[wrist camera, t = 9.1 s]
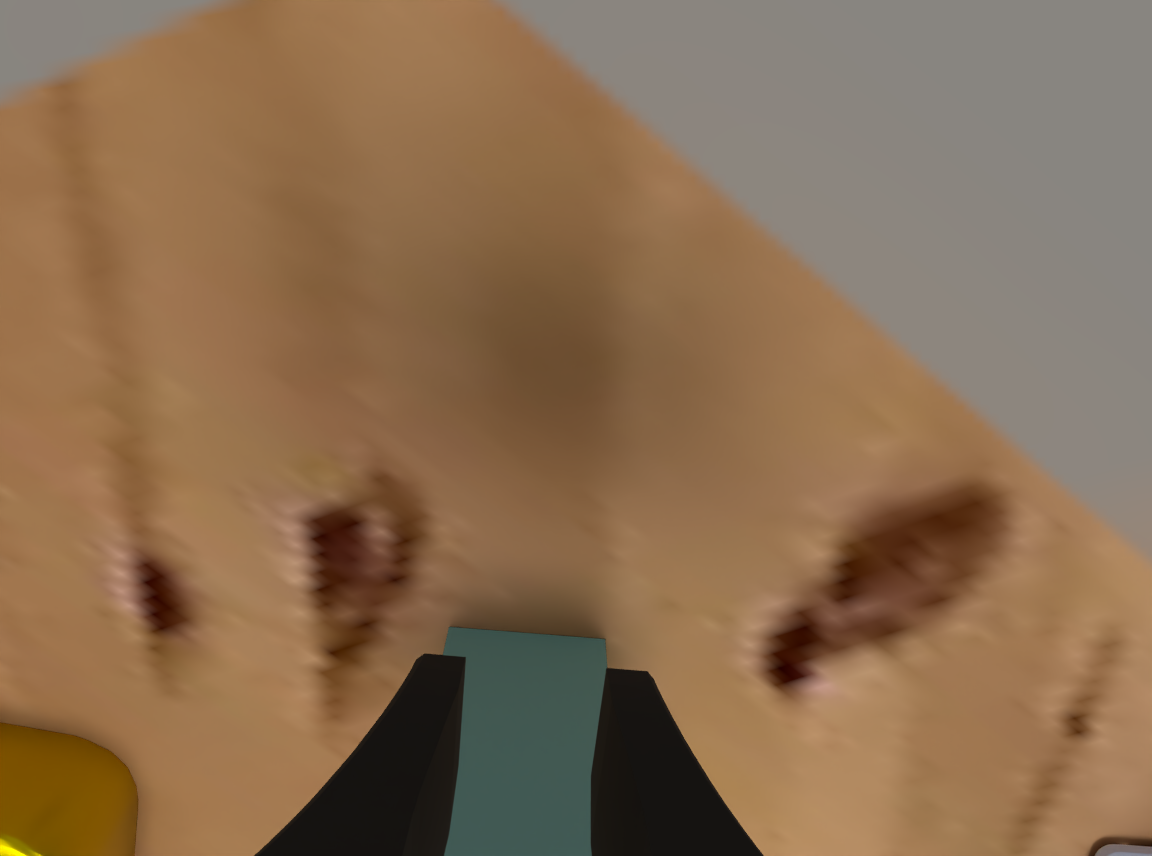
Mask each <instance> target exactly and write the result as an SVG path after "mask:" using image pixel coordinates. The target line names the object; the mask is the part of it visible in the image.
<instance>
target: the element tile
mask: <svg viewBox="0 0 1152 856" xmlns="http://www.w3.org/2000/svg"><path fill="white" fill-rule="evenodd" d="M137 812H138V796H137V789H136V784H135V782H134V780H133V778H132V776H131V774H130V772H129V769H128V767H127V766H126V765H125V764H124V763H123V762H121V761H120V760H119V759H118V758H117V757H116V756H115V755H114V754H113V753H112V752H110V751H108V750H106V749H104V748H102V747H101V746H99V745H97V744H95V743H93V742H91V741H88V740H86V739H83V738H80V737H77V736H74V735H68V734H62V733H57V732H51V731H45V730H40V729H34V728H28V727H23V726H17V725H11V724H6V723H0V856H134V855H135V840H136V826H137Z"/></svg>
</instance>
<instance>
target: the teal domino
mask: <svg viewBox="0 0 1152 856" xmlns="http://www.w3.org/2000/svg"><path fill="white" fill-rule="evenodd" d="M443 655H448V656H461V657H466V665H465V680H464V694H463V709H462V723H461V738H460V753H459V767H458V774H457V781H456V789H455V796H454V803H453V810H452V817H451V824H450V831H449V837H448V841H447V845H446V849H445V853H444V856H592V853H591V771H592V764H593V757H594V750H595V743H596V736H597V729H598V722H599V715H600V708H601V701H602V694H603V687H604V681H605V674H606V668H607V657H606V643H605V639H598V638H585V637H572V636H560V635H547V634H534V633H521V632H509V631H496V630H483V629H470V628H458V627H449V629H448V634H447V639H446V643H445V648H444V652H443Z"/></svg>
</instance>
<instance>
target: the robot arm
mask: <svg viewBox="0 0 1152 856" xmlns="http://www.w3.org/2000/svg"><path fill="white" fill-rule="evenodd" d="M465 665H466V657H461V656H448V655H436V654H423V655H422V656H421V657H419V658H418V659H416V661H415V663H414V665H413V667H412V669H411V671H410V672H409V674H408V676H407V677H406V679H405V681H404V682H403V684H402V685H401V687H400V689H399V690H398V692H397V693H396V695H395V696H394V698H393V699H392V700H391V702H390V703H389V705H388V706H387V708H386V709H385V710H384V712H383V713H382V715H381V716H380V717H379V719H378V720H377V721H376V723H375V724H374V725H373V727H372V728H371V729H370V731H369V732H368V733H367V734H366V736H365V737H364V738H363V740H362V741H361V742H360V744H359V745H358V746H357V748H356V749H355V750H354V751H353V752H352V754H351V755H350V756H349V757H348V758H347V760H346V761H345V762H344V763H343V764H342V765H341V767H340V768H339V769H338V770H337V771H336V772H335V773H334V775H333V776H332V777H331V778H330V779H329V780H328V781H327V783H326V784H325V785H324V786H323V787H322V788H321V790H320V791H319V792H318V793H317V794H316V795H315V796H314V797H313V798H312V799H311V801H310V802H309V803H308V804H307V805H306V806H305V807H304V808H303V809H302V810H301V811H300V812H299V813H298V814H297V815H296V816H295V817H294V818H293V819H292V820H291V821H290V822H289V823H288V824H287V825H286V826H285V827H284V828H283V829H282V830H281V831H280V832H279V833H278V834H277V835H276V836H275V837H274V838H273V839H272V840H271V841H270V842H269V843H268V844H267V845H265V846H264V847H263V848H262V849H261V850H260V851H259V852H258V853H257V854H255V855H254V856H444V853H445V849H446V845H447V841H448V837H449V831H450V824H451V817H452V810H453V803H454V796H455V789H456V781H457V774H458V767H459V753H460V738H461V723H462V709H463V694H464V680H465ZM591 853H592V856H764V855H763V854H762V853H761V852H760V850H759V849H758V848H757V847H756V845H755V844H754V843H753V841H752V840H751V839H750V837H749V836H748V835H747V833H746V832H745V831H744V829H743V828H742V826H741V825H740V824H739V822H738V821H737V819H736V818H735V817H734V815H733V814H732V812H731V811H730V810H729V808H728V807H727V805H726V804H725V803H724V801H723V800H722V798H721V797H720V795H719V794H718V792H717V791H716V789H715V788H714V786H713V785H712V783H711V781H710V780H709V778H708V777H707V775H706V773H705V772H704V770H703V769H702V767H701V765H700V764H699V762H698V761H697V759H696V757H695V756H694V754H693V753H692V751H691V749H690V747H689V746H688V744H687V742H686V741H685V739H684V737H683V735H682V734H681V732H680V730H679V728H678V726H677V724H676V723H675V721H674V719H673V717H672V715H671V713H670V712H669V710H668V708H667V706H666V704H665V702H664V700H663V698H662V696H661V694H660V692H659V690H658V688H657V685H656V683H655V681H654V679H653V678H652V676H651V675H650V674H649V673H648V672H647V671H636V670H624V669H611V668H606V674H605V681H604V687H603V694H602V701H601V708H600V715H599V722H598V729H597V736H596V743H595V750H594V757H593V764H592V771H591ZM1095 856H1152V847H1149V846H1135V845H1121V844H1108V845H1105V846H1103V847H1102V848H1100V849H1099V850H1098V851H1097V853H1096V854H1095Z"/></svg>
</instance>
